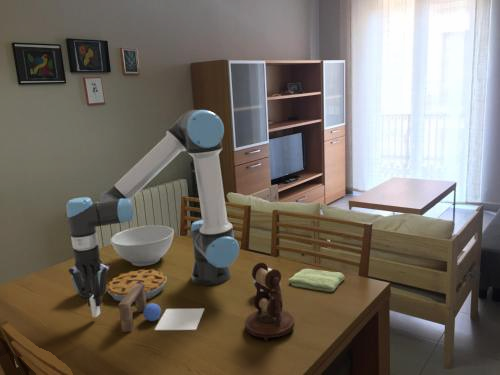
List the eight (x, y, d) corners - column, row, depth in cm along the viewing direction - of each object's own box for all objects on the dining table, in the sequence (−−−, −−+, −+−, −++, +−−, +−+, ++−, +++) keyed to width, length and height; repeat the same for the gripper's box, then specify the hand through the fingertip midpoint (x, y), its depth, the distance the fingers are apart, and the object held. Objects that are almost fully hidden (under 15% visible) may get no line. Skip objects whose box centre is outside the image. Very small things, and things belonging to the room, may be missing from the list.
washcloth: (302, 272, 170) (301, 265, 170) (345, 280, 161) (345, 272, 160) (287, 286, 159) (286, 278, 159) (333, 295, 150) (332, 286, 150)
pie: (119, 279, 175) (117, 268, 174) (173, 276, 174) (171, 265, 173) (99, 305, 154) (97, 292, 153) (160, 302, 153) (158, 289, 152)
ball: (151, 317, 144) (166, 312, 143) (145, 326, 139) (160, 321, 138) (144, 303, 143) (159, 298, 142) (138, 311, 138) (153, 306, 137)
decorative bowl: (129, 250, 208) (126, 225, 205) (183, 249, 204) (181, 224, 201) (103, 273, 182) (99, 246, 180) (165, 273, 178) (161, 244, 175)
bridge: (147, 308, 149) (144, 283, 147) (131, 331, 135) (127, 304, 133) (138, 308, 149) (135, 283, 147) (122, 331, 135) (118, 304, 133)
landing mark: (204, 308, 146) (204, 308, 146) (195, 329, 133) (195, 329, 133) (166, 309, 147) (166, 309, 147) (154, 330, 135) (154, 329, 135)
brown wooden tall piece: (304, 330, 129) (301, 266, 125) (263, 348, 121) (258, 281, 117) (275, 311, 141) (271, 252, 137) (236, 326, 133) (230, 265, 129)
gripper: (59, 251, 135) (71, 321, 140) (100, 250, 134) (110, 320, 139) (72, 243, 142) (82, 309, 147) (110, 242, 141) (120, 309, 146)
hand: (96, 314), depth 143 cm, fingers closed
